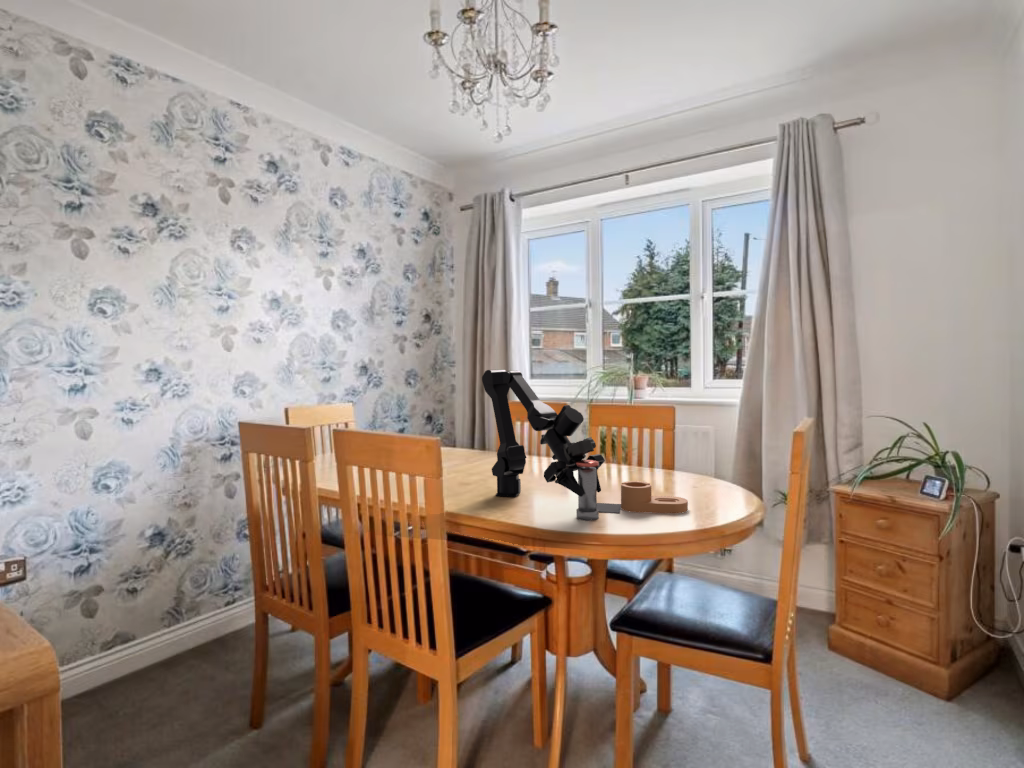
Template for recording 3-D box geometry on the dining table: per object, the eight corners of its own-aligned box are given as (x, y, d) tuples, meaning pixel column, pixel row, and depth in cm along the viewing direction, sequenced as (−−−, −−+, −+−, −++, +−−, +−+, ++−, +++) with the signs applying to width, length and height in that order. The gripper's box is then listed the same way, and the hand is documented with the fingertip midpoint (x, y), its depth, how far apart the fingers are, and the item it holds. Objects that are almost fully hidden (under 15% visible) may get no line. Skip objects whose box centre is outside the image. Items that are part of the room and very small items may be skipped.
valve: (574, 519, 147) (574, 463, 146) (577, 513, 153) (577, 459, 152) (597, 521, 146) (597, 464, 145) (600, 514, 151) (599, 460, 151)
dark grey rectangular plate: (593, 511, 154) (593, 511, 154) (596, 503, 163) (596, 502, 163) (619, 513, 153) (619, 512, 153) (621, 504, 161) (621, 504, 161)
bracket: (621, 512, 154) (621, 487, 154) (620, 504, 162) (620, 480, 162) (689, 514, 151) (689, 489, 151) (685, 506, 160) (685, 482, 159)
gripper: (550, 431, 145) (582, 480, 137) (599, 425, 157) (631, 470, 149) (530, 457, 152) (559, 506, 144) (579, 449, 163) (608, 494, 155)
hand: (591, 493), depth 148 cm, fingers open, 6 cm apart
